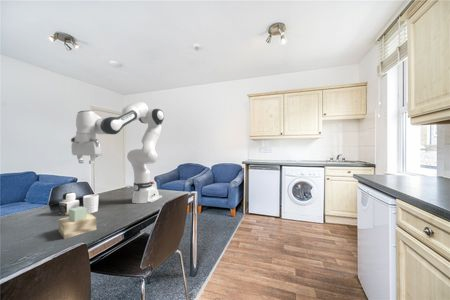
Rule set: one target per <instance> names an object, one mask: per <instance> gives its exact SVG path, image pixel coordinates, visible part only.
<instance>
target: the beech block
mask: <svg viewBox="0 0 450 300" xmlns="http://www.w3.org/2000/svg"><path fill="white" fill-rule="evenodd" d="M96 230H97V217H96V216H95V215H93V213H87V218H85V219H82V220H78V221H75V222H74V221H71V220H69V216H67V217H63V218H59V219H58V232H59V233H60V235H61V237H62V238H63V239H68V238H72V237H75V236H78V235H82V234H87V233H89V232H92V231H96Z"/></svg>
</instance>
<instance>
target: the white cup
mask: <svg viewBox="0 0 450 300" xmlns="http://www.w3.org/2000/svg"><path fill="white" fill-rule="evenodd" d="M99 196H100V195H99V194H97V193H95V194H94V193H93V194H86V195H84V196H82V201H83V202H82V203H83V207H86V208H87V213H90V214H93V213H96V212H98V210H99Z"/></svg>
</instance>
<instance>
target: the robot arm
mask: <svg viewBox="0 0 450 300" xmlns="http://www.w3.org/2000/svg"><path fill="white" fill-rule="evenodd" d="M76 113H77V114H76V117H75V127H76V132H75V135H74V136H73V137H72V138H70V142H71V145H70V146H71V154H72V156H76V159H77V160H78V164H84V159H83V156H88V157H90V160H89V161H88V163H89V165H90V164H91V165H93V164H95V160H96V157H97V156H101V155H102V151H101V144H100V141H99V140H98V138H96V137H97V136H96V135H97V134H98V135H117V134H119V132H121V131H122V129H123V128H124V127H125V126H127V125H129V124H131V123H132V122H134V121H137V120H138V121H139V122H140V123H142V124H147V128H146V129H145V131H144V134H143V136H142V139H141V143H142V148H141V149H139V148H135V149H132V150H129V151H128V152H127V156H126V157H127V160H128V162H130V164H131V166H132V167H131V168H132V169H133V178H134V179H133V195H132V200H131V203H132V204H148V203H154V202H156V201H157V200H159V199H161V198H163V195H161V194H159V193H160V192H159V190H158V189H157V188H156V187H154V186H153V185H155V181H151V171H150V169H148V167H147V165H151V164H154V163H156V162H157V161H158V157H159V155H158V153H157V151H156V145H157V144H158V141H159V138H160V136H161V134H162V129H163V128H162V123H163V122H164V120H165V119H164V118H165V113H164V111H163V110H162V109H160V108H149V107H148V105H147V104H146V103H145V102H143V101H139V102H133V103H131V104H129V105H126V106H125V107H123V108H122V114H121V115H119V116H109V117H101V116H99V115H98V114H97V113H95V111H93V110H80V111H78V112H76Z"/></svg>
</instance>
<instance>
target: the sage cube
mask: <svg viewBox="0 0 450 300" xmlns="http://www.w3.org/2000/svg"><path fill="white" fill-rule="evenodd" d="M68 217H69V220H71V221H74V222H75V221H78V220H82V219H85V218H87V208H86V207H84V206H79V207H77V208H72V209H69V214H68Z"/></svg>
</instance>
